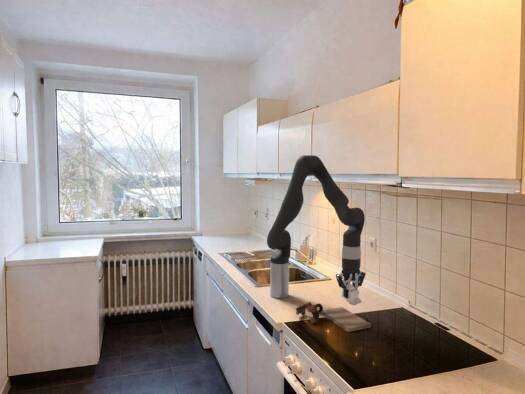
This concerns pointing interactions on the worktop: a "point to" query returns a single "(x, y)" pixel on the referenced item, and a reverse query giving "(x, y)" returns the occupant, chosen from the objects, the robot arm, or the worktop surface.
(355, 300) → the plug
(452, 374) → the worktop surface
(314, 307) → the brown irregular piece
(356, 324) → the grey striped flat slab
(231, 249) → the worktop surface
